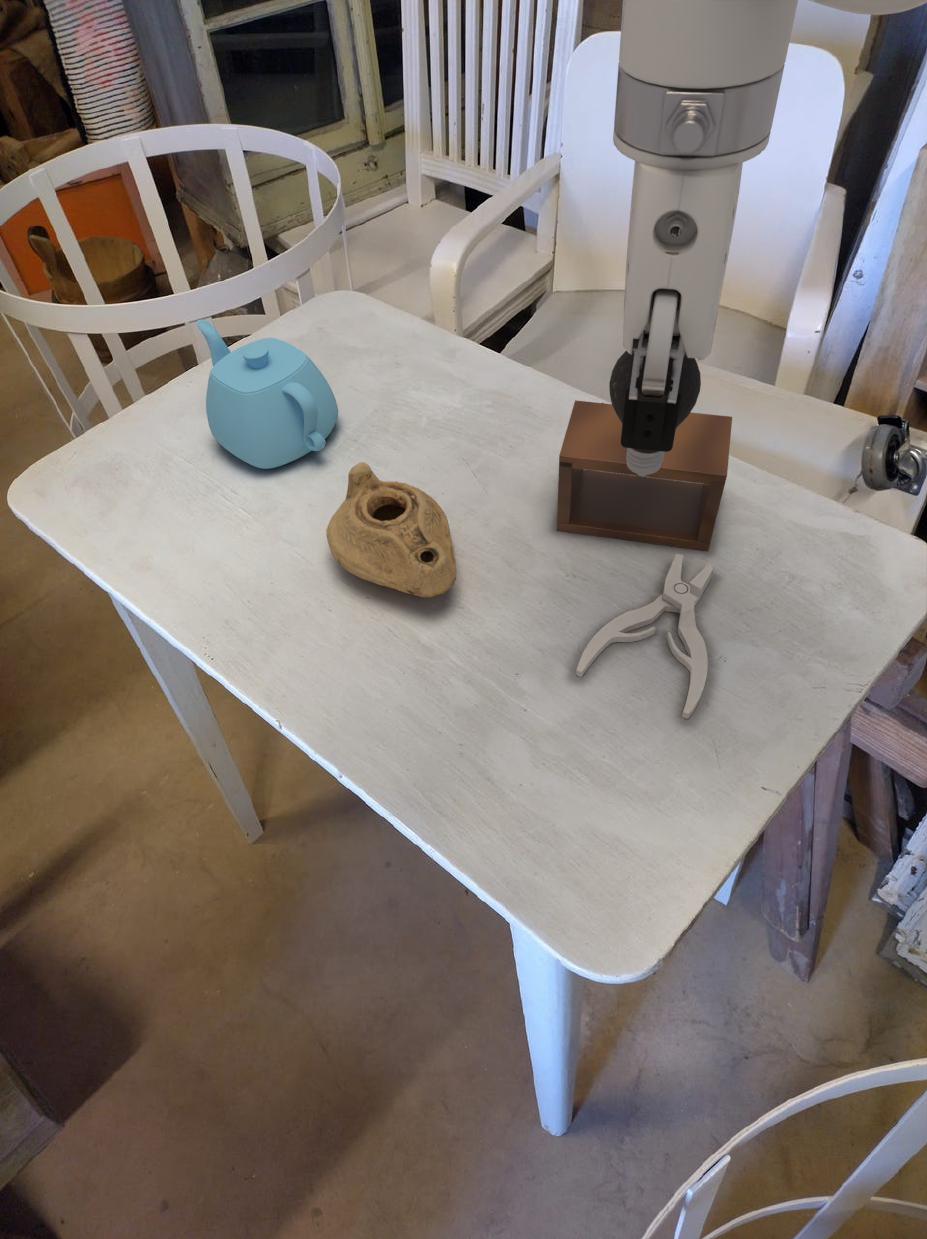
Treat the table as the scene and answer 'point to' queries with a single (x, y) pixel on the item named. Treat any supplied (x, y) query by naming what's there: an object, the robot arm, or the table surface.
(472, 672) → the table surface
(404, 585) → the oil lamp
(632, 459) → the light bulb
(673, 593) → the pliers
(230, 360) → the teapot
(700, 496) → the shelf
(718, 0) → the robot arm
